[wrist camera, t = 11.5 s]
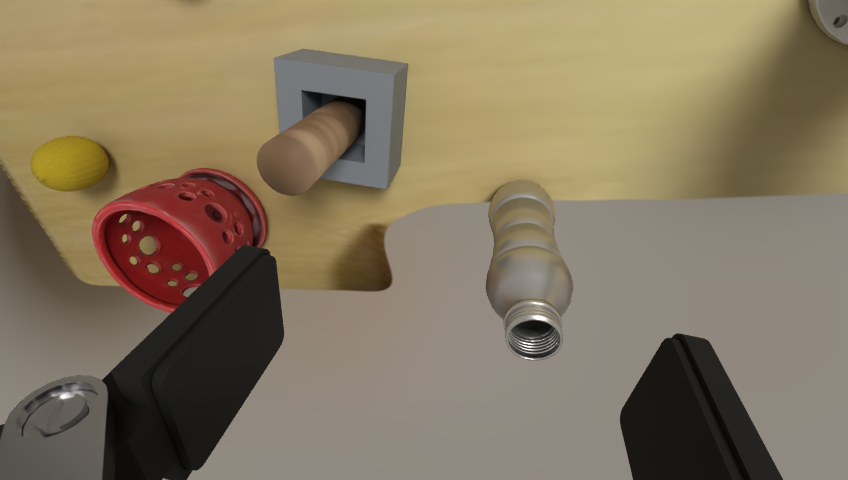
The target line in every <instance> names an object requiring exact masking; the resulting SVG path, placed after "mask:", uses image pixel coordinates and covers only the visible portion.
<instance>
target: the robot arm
mask: <svg viewBox="0 0 848 480" xmlns="http://www.w3.org/2000/svg"><path fill="white" fill-rule="evenodd" d="M808 2H809V6H810V10H811V15H812V16H813V18H814V20H815V22H816V24H817V25H818V27H819V28H820V29H821V30H822V31H823V32H824V33H825V34H826V35H827V36H828V37H830V38H832V39H833V40H835V41H837V42H839V43H841V44H845V45H848V0H808ZM835 19H836V20H835ZM834 20H835V22H834ZM833 22H834V23H833ZM283 338H284V327H283V318H282V310H281V301H280V292H279V283H278V274H277V266H276V259H275V258H274V257H273V256H270V252H269V251H268V250H267V249H264V248H259V247H254V246H249V245H243V246H241V247H240V248H239V249H238V250H237V251H236V252H235V253H234V254H233V255H231V256H230V257H229V258H228V259H227V260H226V261H225V262H224V263H223V264H222V265H221V266H220V267H219V268H218V269H217V270H216V271H215V272H214V273H213V274H212V275H211V276H210V277H209V278H208V279H206V280H205V281H204V282H203V283H202V284H201V285H200V286H199V287H198V288H197V289H196V290H195V291H194V292H193V293H192V294H191V295H190V296H189V297H188V298H187V299H186V300H185V301H184V302H183V303H181V304H180V305H179V306H178V307H177V308H176V309H175V310H174V311H173V312H172V313H171V314H170V315H169V316H168V317H167V318H166V319H165V320H164V321H163V322H162V323H161V324H160V325H159V326H158V327H156V328H155V329H154V330H153V331H152V332H151V333H150V334H149V335H148V336H147V337H146V338H145V339H144V340H143V341H142V342H141V343H140V344H139V345H138V346H137V347H136V348H135V349H134V350H132V351H131V352H130V354H128V355H127V356H126V357H125V358H124V359H123V360H122V361H121V362H120V363H119V364H118V365H117V366H116V367H115V368H114V369H113V370H112V371H111V372H110V373H109V374H108V375H107V376H106V377H105V378H104V379H103V380H101V379H99V378H96V377H93V376H87V375H86V376H84V375H76V376H71V377H65V378H62V379H59V380H56V381H53V382H51V383H48V384H46V385H45V386H42V387H41V388H39V389H37V390H35V391H33V392H32V393H31V394H29V395H28V396H27V397H25V398H24V399H23V400H22V401H20V402H19V403H18V405H17V406H16V407H15V408H14V409H13V410H12V411H11V412H10V414H9V416H8V418H7V420H6V422H5V424H3V425H0V480H162V479H163V478H165V479H168V480H187V478H188V477H189V475H190V474H191V472H192V470H198V469H200V468H201V467H202V466H203V465H204V463H205V462H206V460H207V459H208V457H209V456H210V454H211V452H212V451H213V450H214V448H215V446H216V445H217V443H218V442H219V440H220V439H221V437H222V436H223V434H224V433H225V431H226V429H227V428H228V426H229V425H230V423H231V422H232V420H233V419H234V417H235V416H236V414H237V413H238V411H239V409H240V408H241V406H242V405H243V403H244V402H245V400H246V398H247V397H248V396H249V394H250V393H251V391H252V389H253V388H254V386H255V385H256V383H257V382H258V380H259V379H260V377H261V375H262V374H263V372H264V371H265V369H266V368H267V366H268V365H269V363H270V362H271V360H272V359H273V357H274V356H275V354H276V352H277V351H278V349H279V348H280V346H281V344H282V341H283ZM620 424H621V429H622V434H623V437H624V442H625V446H626V450H627V455H628V459H629V464H630V468H631V472H632V477H633V480H783V479H782V477H781V475H780V473H779V471H778V469H777V467H776V466H775V464H774V462H773V460H772V458H771V456H770V455H769V453H768V451H767V449H766V447H765V445H764V443H763V441H762V439H761V438H760V436H759V434H758V432H757V430H756V428H755V426H754V425H753V422H752V421H751V419H750V417H749V415H748V413H747V411H746V409H745V408H744V406H743V404H742V402H741V400H740V398H739V396H738V394H737V392H736V391H735V389H734V387H733V385H732V383H731V381H730V379H729V377H728V376H727V374H726V372H725V370H724V368H723V366H722V364H721V363H720V361H719V359H718V357H717V355H716V353H715V351H714V349H713V347H712V346H711V344H710V343H709V341H708V340H706V339H703V338H698V337H693V336H689V335H684V334H675V335H674V336H673V337H672V338H666V339H665V340H664V341H663V342H662V343H661V345H660V347H659V349H658V350H657V352H656V354H655V355H654V357H653V359H652V360H651V362H650V364H649V365H648V367H647V368H646V370H645V372H644V373H643V375H642V377H641V378H640V380H639V382H638V384H637V385H636V387H635V388H634V390H633V392H632V393H631V395H630V397H629V398H628V400H627V402H626V403H625V405H624V407H623V408H622V411H621V415H620Z"/></svg>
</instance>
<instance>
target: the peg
mask: <svg viewBox="0 0 848 480" xmlns="http://www.w3.org/2000/svg"><path fill="white" fill-rule="evenodd" d="M365 128H366V101H365V100H364V99H359V98H353V97H346V96H337V97H336V98H334V99H332V100H331V101H329V102H328V103H326V104H325V105H323V106H322V107H320V108H319V109H317V110H316V111H314V112H312V113H311V114H309V115H308V116H306V117H305V118H303V119H302V120H300V121H299V122H297V123H295V124H294V125H292V126H291V127H289V128H288V129H286V130H285V131H283V132H282V133H280V134H279V135H277V136H275V137H274V138H272V139H271V140H269V141H268V142H266V143H265V144H264V145H263V146H262V147H261V148H260V150H259V152H258V155H257V166H258V170H259V172H260V175H261V176H262V178H263V180H264V181H265V182H266V183H267V184H268V185H269V186H270V187H271V188H272V189H274V190H275V191H277V192H279V193H282V194H285V195H290V196H295V195H300V194H302V193H304V192H306V191H307V190H308V189H309V188H310V187H311V186H312V185H313V184H314V183H315V182H316V181H317V180H318V179H319V178H320V177H321V176H322V175H323V174H324V173H325V171H326V170H327V169H328V168H329V167H330V166H331V165H332V164H333V163H334V162H335V161H336V160H337V159H338V158H339V157H340V156H341V155H342V154H343V153H344V152H345V151H346V150H347V149H348V148H349V147H350V146H351V145H352V144H353V143H354V142H355V141H356V140H357V139H358V138H359V137H360V136H361V135H362V134H363V133H364V132H365Z"/></svg>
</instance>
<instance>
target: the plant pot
mask: <svg viewBox="0 0 848 480" xmlns="http://www.w3.org/2000/svg"><path fill="white" fill-rule="evenodd" d="M124 214H127V216H126V218H125V220H124V221H123V222H121V223H119V220H120V218H121V217H122V216H123V215H124ZM135 221H140V228H139V229H138V230H137V231H133V229H132V225H133V223H134V222H135ZM266 233H267V222H266V216H265V213H264V210H263V208H262V205H261V203H260V201H259V200H258V198H257V197H256V196H255V194H254V193H253V192H252V191H251V190H250V189H249V188H248V187H247V186H246V185H245V184H244V183H243V182H241V181H240V180H239V179H237V178H236V177H234V176H232V175H230V174H228V173H225V172H223V171H220V170H215V169H208V168H200V169H194V170H191V171H188V172H186V173H184V174H183V175H181V176H180V177H179V178H176V179H169V180H165V181H161V182H157V183H154V184H150V185H148V186H145V187H142V188H140V189H137V190H135V191H133V192H130V193H128V194H126V195H124V196H122V197H120V198H118V199H116V200H114V201H112V202H110V203H108V204H107V205H105V206H104V207H103V208H101V209H100V211H99V212H98V213H97V215H96V216H95V218H94V222H93V226H92V236H93V241H94V245H95V248H96V251H97V254H98V256H99V258H100V260H101V261H102V263H103V265H104V266H105V268H106V269H107V270H108V272H109V273H110V274H111V276H112V277H113V278H114V279H115V280H116V281H117V282H118V283H119V284H120V285H121V286H122V287H123V288H124V289H125V290H127V291H128V292H129V293H130V294H132V295H133V296H135V297H136V298H138V299H139V300H141V301H143V302H144V303H146V304H148V305H150V306H152V307H154V308H157V309H160V310H162V311H166V312H169V313H172V312H173V311H174V310H175V309H176V308H177V307H178V306H179V305H180V304H181V303H183V302H184V301H185V300H186V299H187V298H188V297H185V296H183V293H184V291H185V290H187V289H189V288H192V287H199V286H200V285H201V284H202V283H203V282H204V281H205V280H206V279H208V278H209V277H210V276H211V275H212V274H213V273H214V272H215V271H216V270H217V269H218V268H219V267H220V266H221V265H222V264H223V263H224V262H225V261H226V260H227V259H228V258H229V257H230V256H231V255H233V254H234V253H235V252H236V251H237V250H238V249H239V248H240V247H241V246H243V245H249V246H254V247H259V248H260V247H261V246H262V244H263V242H264V240H265V238H266ZM124 234H126V235H127V241H126V242H125V243H124V242H123V241H122V236H123V235H124ZM146 236H151V237H152V238H154V239H155V241H156V244H157V248H156V251H155V252H154V253H153V254H151V255H146V254H144V253H143V252H142V251H141V250H140V247H139V244H140V241H141V239H142V238H144V237H146ZM131 256H133V257H135V258H136V259H137V264H136V265H133V264H131V262H130V260H129V259H130V257H131ZM148 264H154V265H156V266H157V267H158V268H159V272H157V273H151V272H149V270H148V268H147V265H148ZM174 264H179V265H180V266H181V267H182V268H181V270H179V271H175V270H173V269H172V265H174ZM190 273H194V274H197V275H198V277H197V278H196V279H195V280H193V281H190V280H187V279H186V278H185V276H186V275H187V274H190ZM169 281H175V282H177V285H176V286H169V285H168V284H167V283H168V282H169Z"/></svg>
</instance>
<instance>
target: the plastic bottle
mask: <svg viewBox="0 0 848 480" xmlns="http://www.w3.org/2000/svg"><path fill="white" fill-rule="evenodd" d="M489 222H490V226H491V229H492V232H493V236H494V251H493V257H492V260H491V264H490V267H489V271H488V274H487V280H486V292H487V296H488V298H489V300H490V303H491V305H492V308H493V309H494V310H495V312H496V313H497V314H498V315H499V316H500V317H501V318H502V319H503V320H504V329H505V338H506V342H507V346H508V348H509V349H510V350H511V351H512V352H513V353H514V354H515V355H517V356H518V357H521V358H523V359H527V360H544V359H547V358H550V357H552V356H553V355H555V354H556V353H557V352H558V351H559V350H560V348H561V346H562V342H563V334H562V329H561V328H562V320H561V316H562V315H563V314H564V312H565V311H566V310H567V308H568V306H569V304H570V301H571V297H572V292H573V281H572V277H571V274H570V272H569V269H568V267H567V266H566V264H565V262H564V260H563V258H562V256H561V254H560V252H559V250H558V247H557V244H556V241H555V238H554V223H555V207H554V203H553V201H552V199H551V197H550V196H549V195H548V193H547V192H546V191H545V190H544V189H543V188H542V187H541V186H540V185H538V184H536V183H534V182H531V181H526V180H518V181H513V182H510V183H508V184H506V185H504V186H503V187H501V188H500V189H499V190H498V191H497V192H496V194H495V195H494V197H493V199H492V201H491V204H490V207H489Z"/></svg>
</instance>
